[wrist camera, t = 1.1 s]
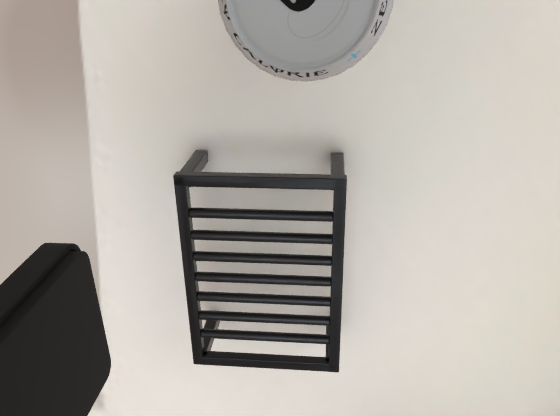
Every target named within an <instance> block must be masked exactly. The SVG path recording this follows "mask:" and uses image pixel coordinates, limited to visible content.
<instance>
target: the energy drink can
mask: <svg viewBox="0 0 560 416" xmlns="http://www.w3.org/2000/svg"><path fill="white" fill-rule="evenodd" d="M218 3H219V9H220V14H221V17H222V19H223V22H224V25H225V27H226V30H227V32H228V34H229V35H230V37H231V39H232V40H233V42H234V44H235V45H236V47H237V48H238V49H239V50H240V51H241V52H242V53H243V54H244V56H245V57H246V58H247V59H248V60H250V61H251V62H252V63H254V64H255V65H256V66H257V67H259V68H260V69H262V70H264V71H266V72H268V73H270V74H272V75H274V76H277V77H280V78H284V79H288V80H294V81H314V80H322V79H325V78H328V77H331V76H334V75H337V74H340V73H341V72H343V71H345V70H347V69H348V68H350V67H352V66H354V65H355V64H356V63H357V62H358V61H359V60H361V59H362V58H363V57H364V56H365V55H366V54H367V53H368V52H369V51H370V50H371V48H372V47H373V46H374V45H375V43H376V42H377V41H378V39H379V38H380V36H381V34H382V32H383V30H384V28H385V26H386V25H387V22H388V19H389V16H390V13H391V9H392V6H393V0H218Z"/></svg>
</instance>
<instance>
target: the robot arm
mask: <svg viewBox="0 0 560 416" xmlns="http://www.w3.org/2000/svg"><path fill="white" fill-rule="evenodd" d="M110 368H111V359H110V354H109V349H108V344H107V340H106V335H105V330H104V325H103V321H102V316H101V311H100V307H99V302H98V297H97V293H96V288H95V283H94V278H93V274H92V269H91V264H90V260H89V256H88V254H87V253H86V252H84V251H81V250H80V248H79V247H78V246H77V245H76V244H67V243H44V244H43V245H41V246H40V247H39V248H38V249H37V250H36V251H35V252H34V253H33V254H32V255H31V256H30V257H29V258H28V259H27V260H25V261H24V263H22V264H21V265H20V266H19V267H18V268H17V269H16V270H15V271H14V272H13V273H12V274H11V275H10V276H9V277H8V278H7V279H6V280H5V281H4V282H3V283H2V284H1V285H0V416H87V415H88V413H89V412H90V410H91V408H92V406H93V404H94V402H95V401H96V399H97V397H98V395H99V393H100V391H101V390H102V388H103V386H104V384H105V382H106V380H107V378H108V376H109V373H110Z"/></svg>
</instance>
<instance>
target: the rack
mask: <svg viewBox="0 0 560 416" xmlns="http://www.w3.org/2000/svg"><path fill="white" fill-rule="evenodd" d="M207 162H208V153H207V151H205V150H196V151H195V152H194V154H193V155H192V156H191V158H190V159H189V160H188V161H187V163H186V164H185V165H184V167H183V168H182V169H181V171H180V172H176V173H175V174H174V176H173V177H174V186H175V195H176V204H177V213H178V223H179V232H180V241H181V250H182V260H183V269H184V278H185V287H186V296H187V306H188V315H189V324H190V333H191V343H192V352H193V361H194V364H202V365H220V366H238V367H256V368H274V369H292V370H310V371H328V372H339V355H340V331H341V307H342V283H343V258H344V234H345V210H346V186H347V176H346V175H345V174H344V154H343V153H331V175H321V174H271V173H221V172H201V171H202V170H203V168H204V167H205V165H206V164H207ZM189 187H235V188H279V189H323V190H334V201H333V212H332V211H297V210H259V209H222V208H191V204H190V193H189ZM192 218H222V219H257V220H293V221H328V222H332V221H333V234H313V233H280V232H247V231H215V230H193V225H192ZM194 240H221V241H251V242H282V243H313V244H332V256H321V255H293V254H264V253H235V252H206V251H195V245H194ZM196 261H216V262H243V263H271V264H298V265H326V266H331V265H332V266H331V277H324V276H298V275H272V274H246V273H220V272H197V266H196ZM198 281H207V282H232V283H257V284H282V285H307V286H331V298H330V297H322V296H298V295H274V294H250V293H227V292H203V291H199V287H198ZM200 301H218V302H240V303H263V304H286V305H309V306H330V316H315V315H293V314H271V313H249V312H227V311H205V310H201V308H200ZM202 320H206V323H205V326H204V329H202ZM220 321H242V322H263V323H284V324H305V325H326V335H323V334H302V333H282V332H261V331H241V330H220V329H218V326H219V323H220ZM214 338H217V339H236V340H256V341H276V342H296V343H316V344H326V357H311V356H292V355H273V354H254V353H235V352H216V351H210V350H211V347H212V344H213V341H214Z"/></svg>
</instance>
